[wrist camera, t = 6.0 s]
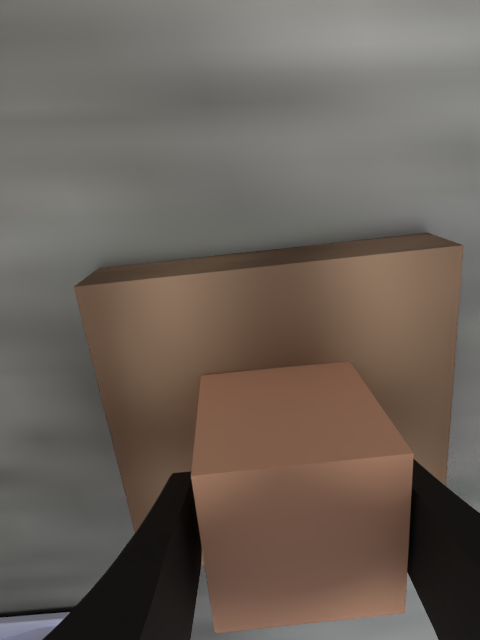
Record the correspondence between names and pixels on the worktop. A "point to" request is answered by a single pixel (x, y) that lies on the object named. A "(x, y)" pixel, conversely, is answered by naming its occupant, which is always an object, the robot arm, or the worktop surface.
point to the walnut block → (271, 340)
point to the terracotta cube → (300, 498)
